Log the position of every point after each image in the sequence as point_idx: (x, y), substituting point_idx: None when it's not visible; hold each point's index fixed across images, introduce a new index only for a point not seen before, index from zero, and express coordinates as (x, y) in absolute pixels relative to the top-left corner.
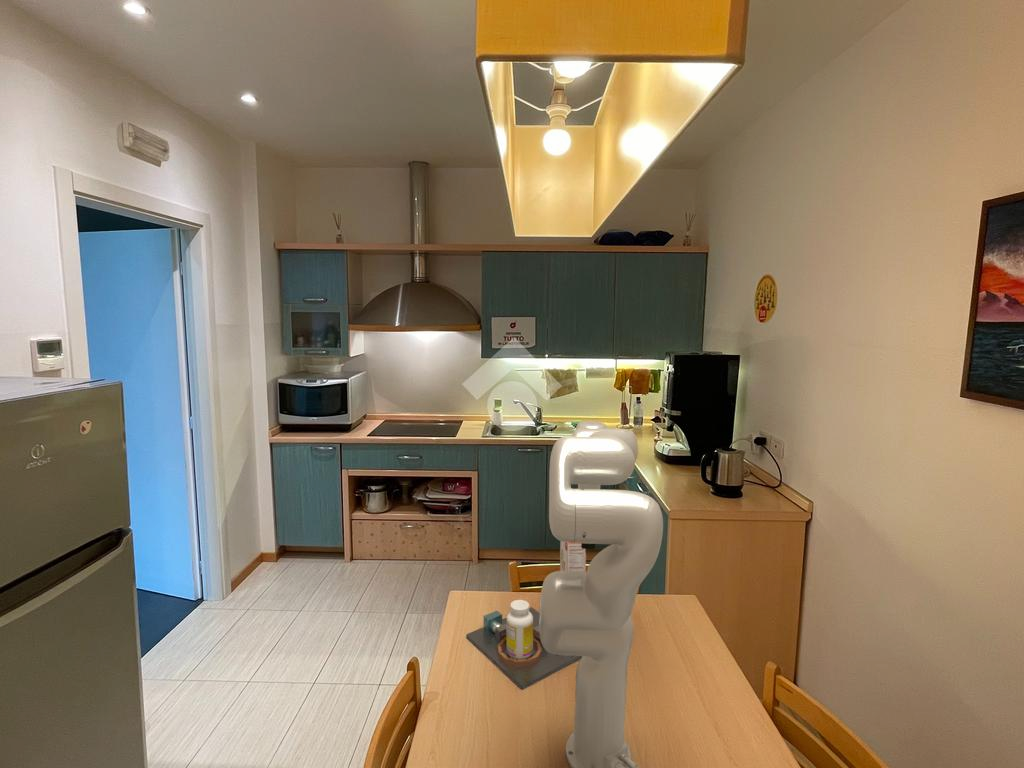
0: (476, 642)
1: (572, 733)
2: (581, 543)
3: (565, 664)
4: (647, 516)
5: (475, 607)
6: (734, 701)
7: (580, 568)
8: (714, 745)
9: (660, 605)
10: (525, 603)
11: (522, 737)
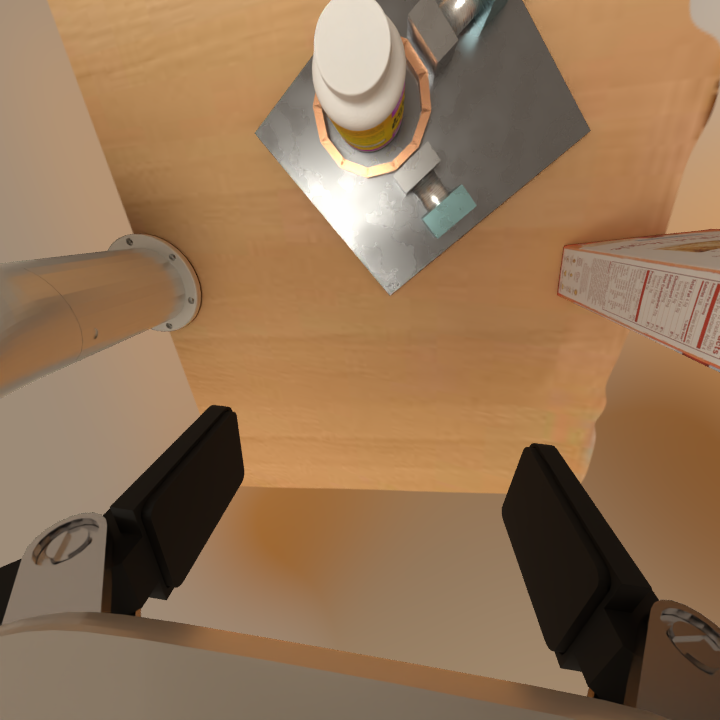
0: None
1: (166, 246)
2: (193, 424)
3: (342, 238)
4: None
5: None
6: (303, 471)
7: (636, 312)
8: None
9: None
10: (362, 74)
11: (145, 149)
